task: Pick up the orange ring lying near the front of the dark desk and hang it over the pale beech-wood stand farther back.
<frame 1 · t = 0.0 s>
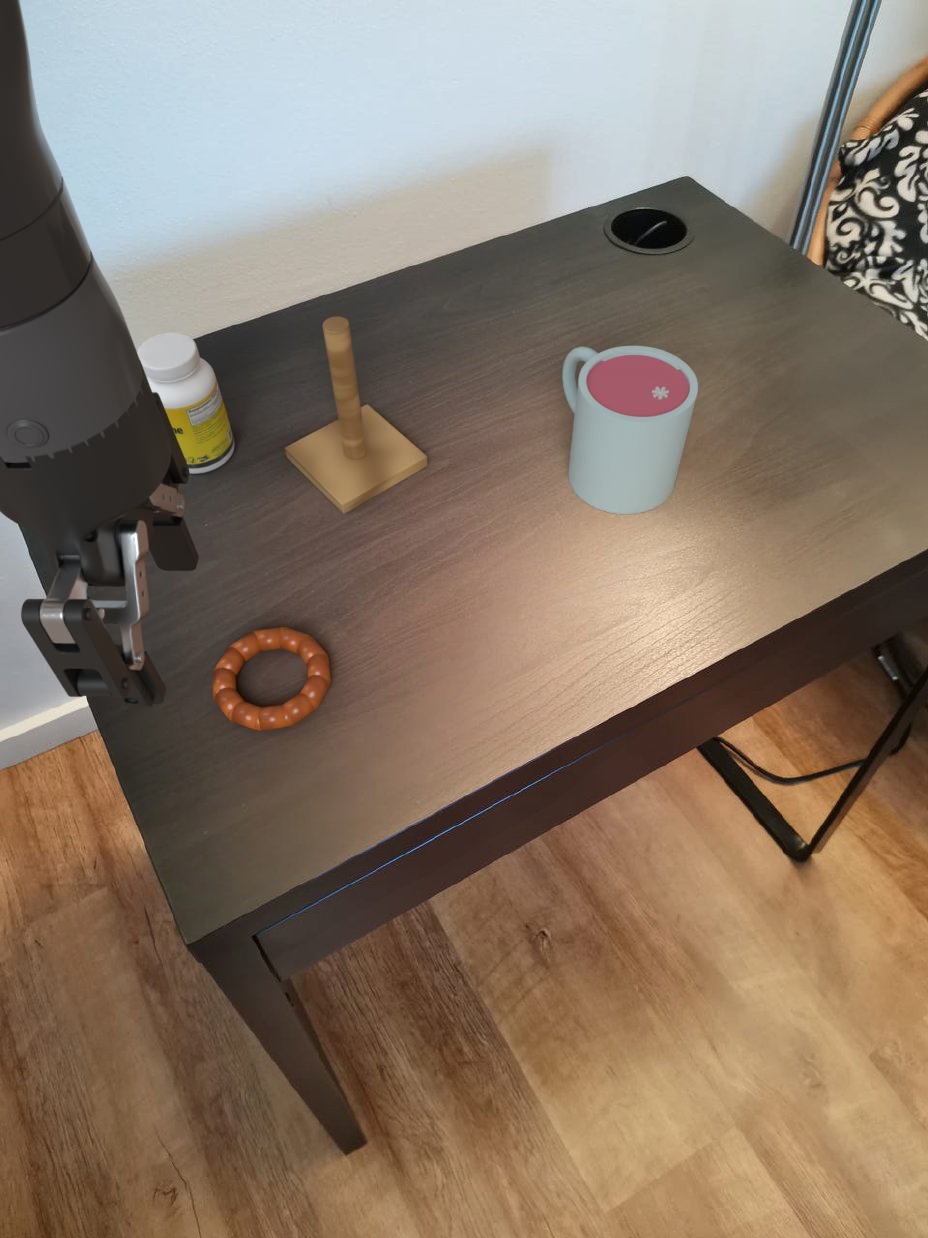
hand: (163, 628, 47), 17 cm above the table, tool pointing down, fingers open, 8 cm apart
ring: (271, 677, 64), point 1 cm above the table
stand: (356, 461, 78), on the table
pill bottle: (202, 453, 79), on the table
mug: (605, 461, 78), on the table
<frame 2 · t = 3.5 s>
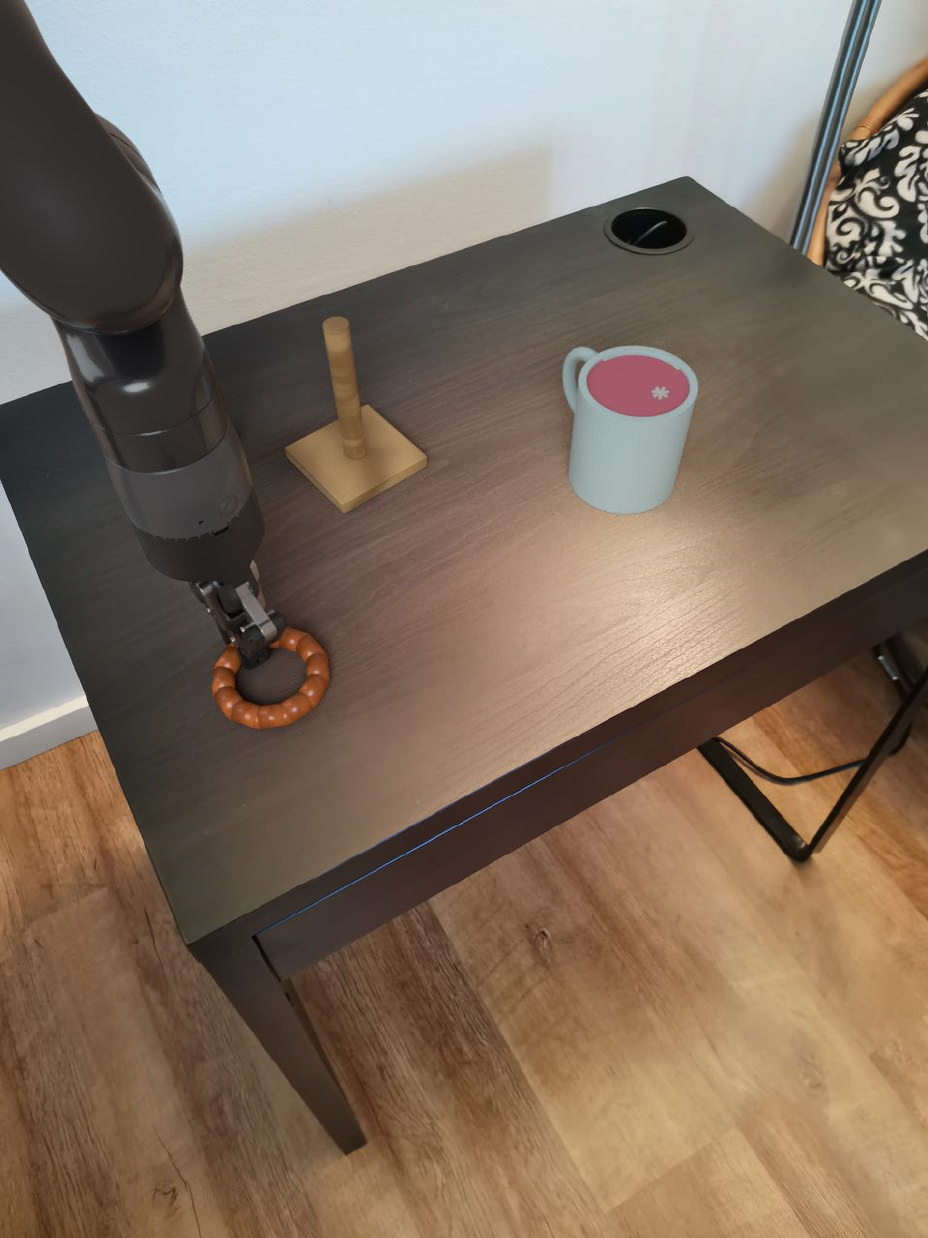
hand: (248, 650, 66), 0 cm above the table, tool pointing down, fingers closed on ring, 2 cm apart
ring: (270, 675, 64), point 1 cm above the table, touching gripper
everything else where it was.
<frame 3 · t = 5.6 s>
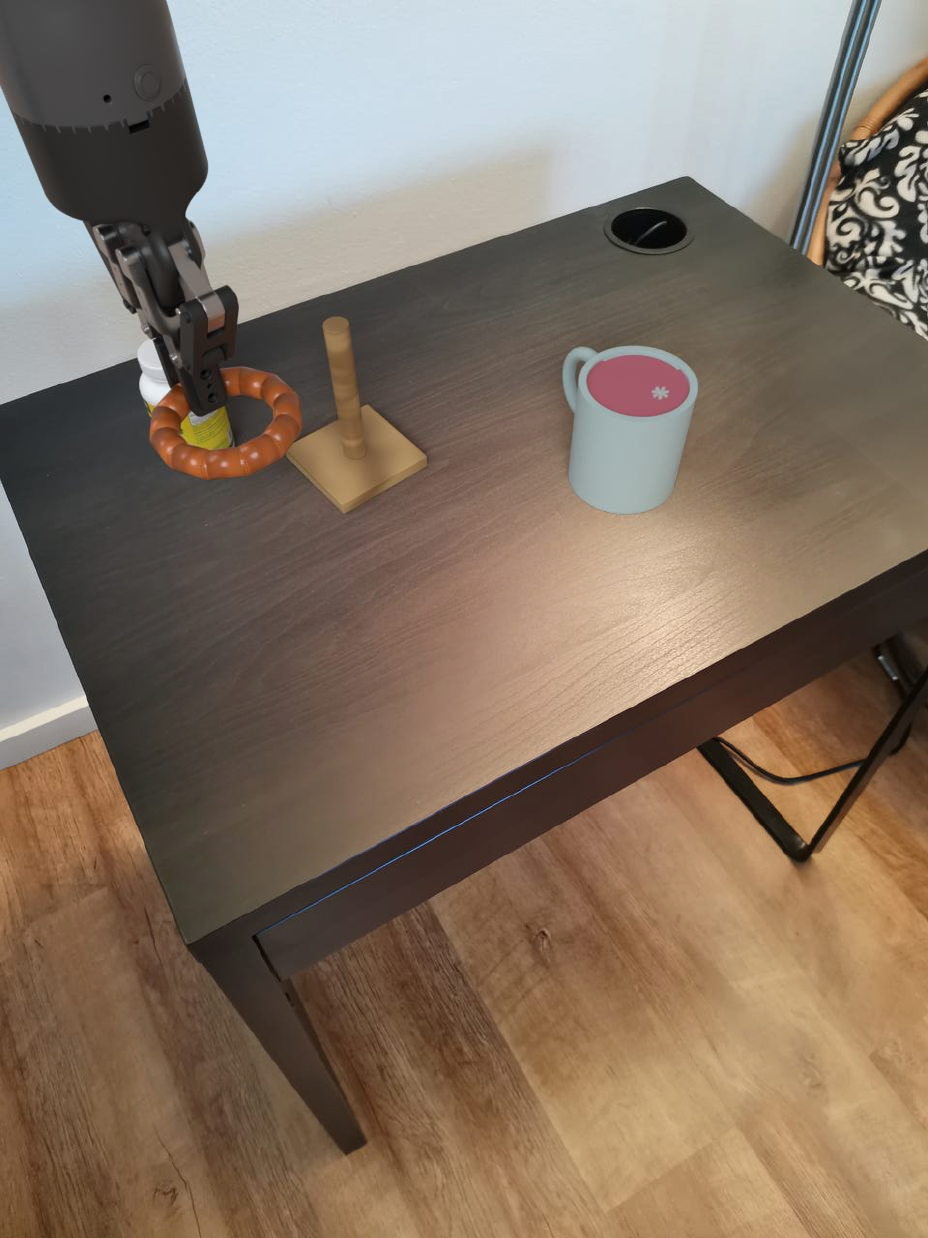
hand: (200, 397, 52), 21 cm above the table, tool pointing down, fingers closed on ring
ring: (226, 420, 50), point 21 cm above the table, touching gripper
everything else where it was.
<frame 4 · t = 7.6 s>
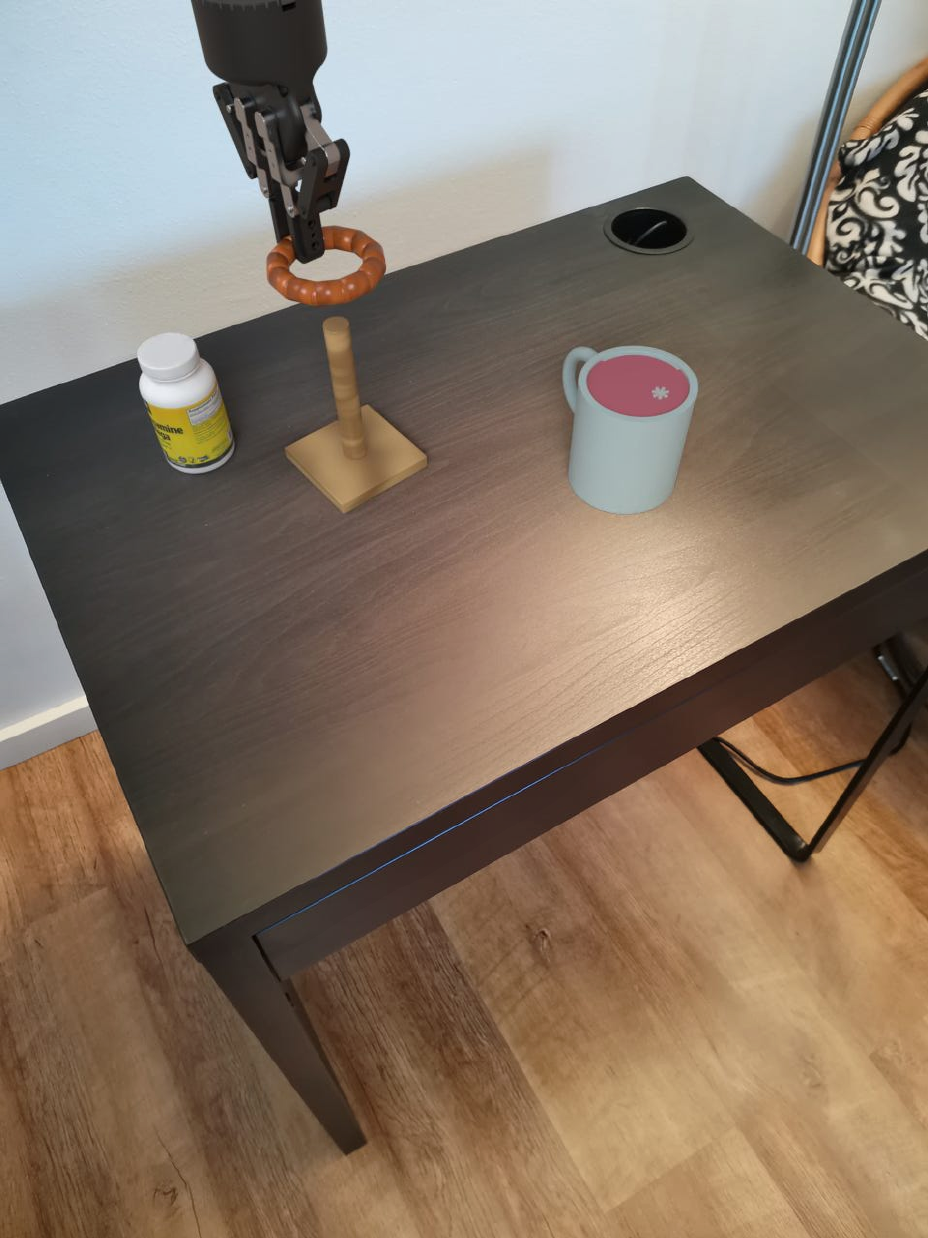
hand: (301, 250, 65), 19 cm above the table, tool pointing down, fingers closed on ring
ring: (326, 264, 63), point 19 cm above the table, touching gripper
everything else where it was.
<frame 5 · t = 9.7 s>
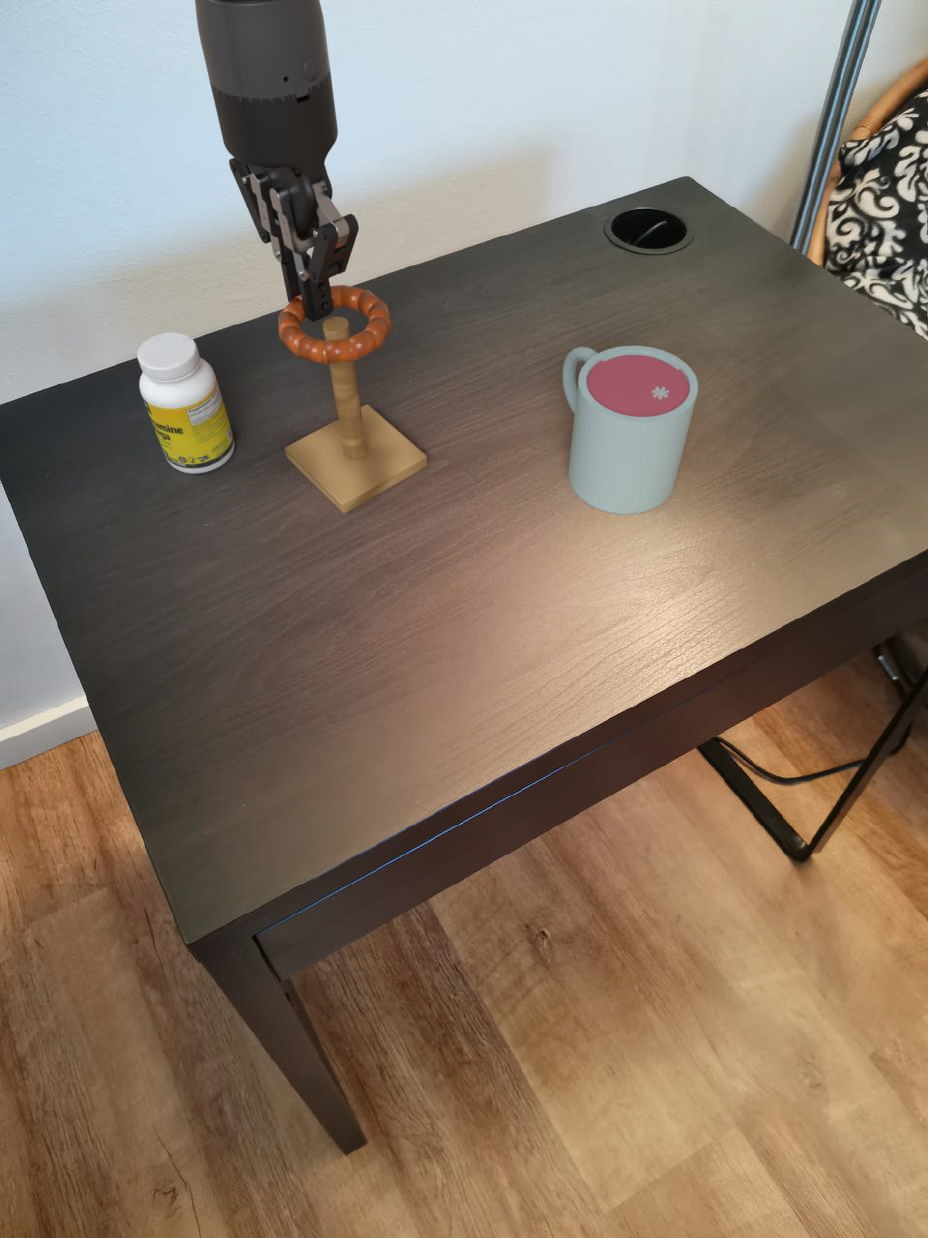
hand: (311, 308, 69), 14 cm above the table, tool pointing down, fingers closed on ring
ring: (334, 323, 67), point 14 cm above the table, touching gripper
everything else where it was.
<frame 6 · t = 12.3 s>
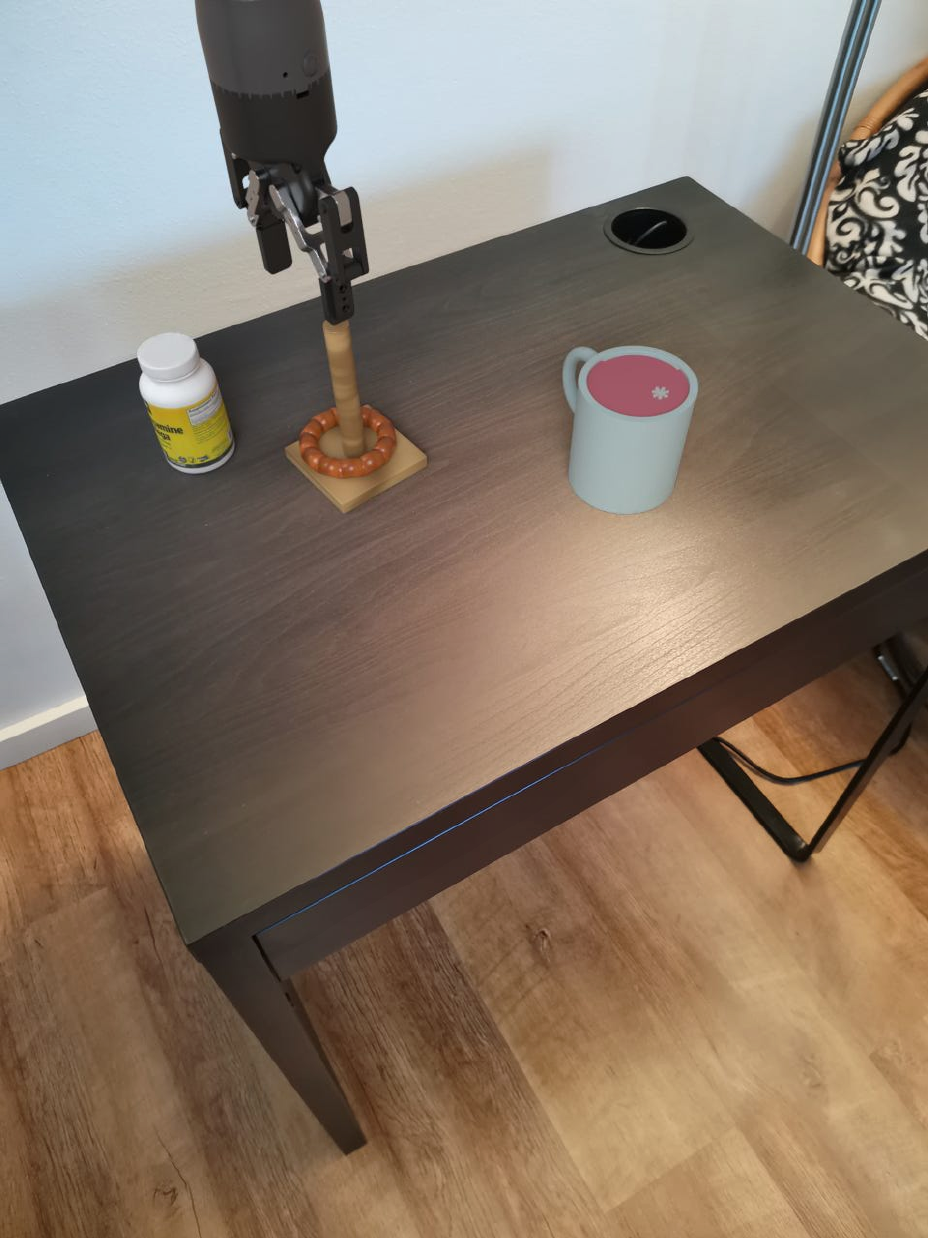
hand: (309, 293, 68), 15 cm above the table, tool pointing down, fingers open, 8 cm apart
ring: (347, 440, 77), point 2 cm above the table, touching stand
everything else where it was.
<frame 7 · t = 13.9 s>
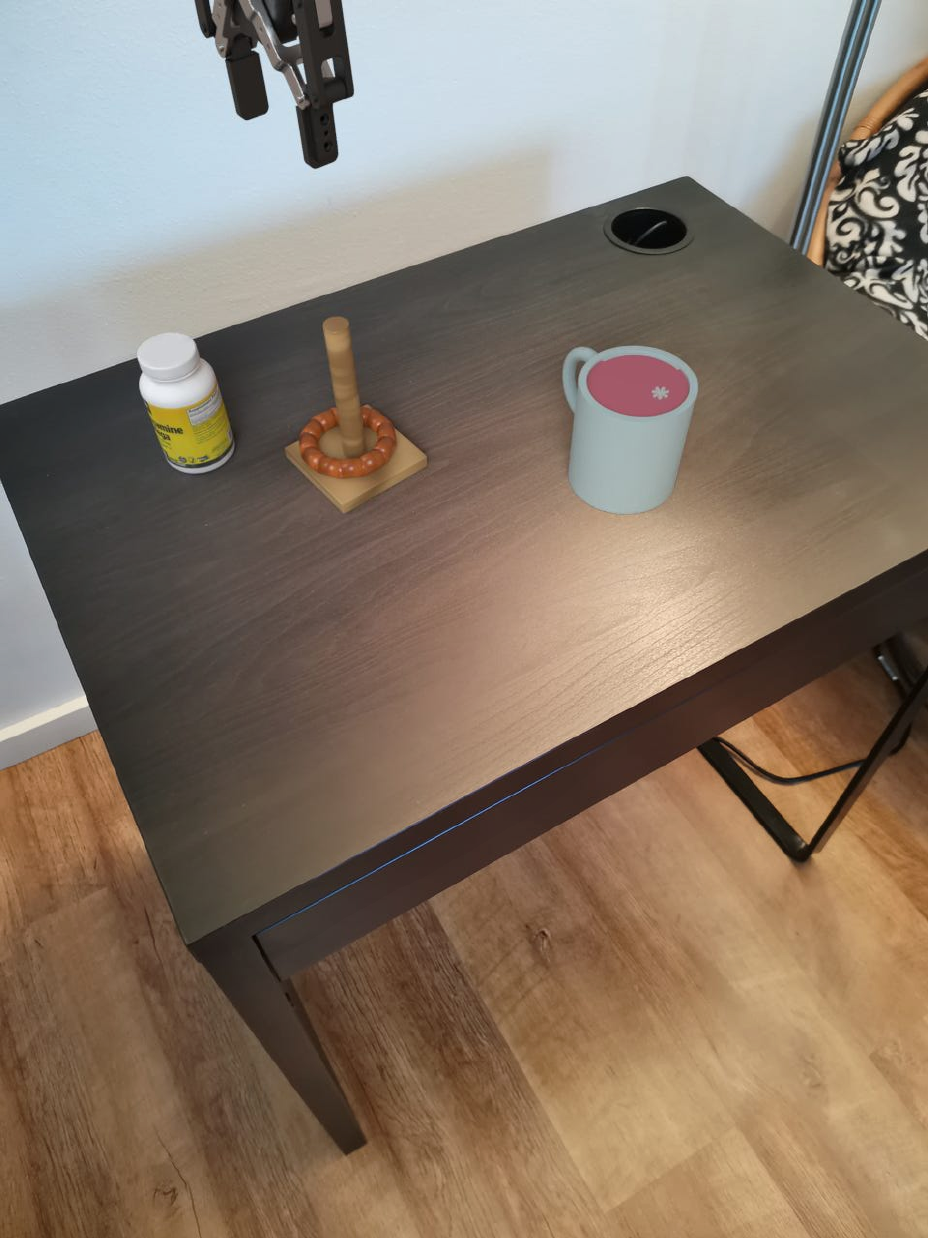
hand: (287, 138, 59), 26 cm above the table, tool pointing down, fingers open, 8 cm apart
nothing on the table moved.
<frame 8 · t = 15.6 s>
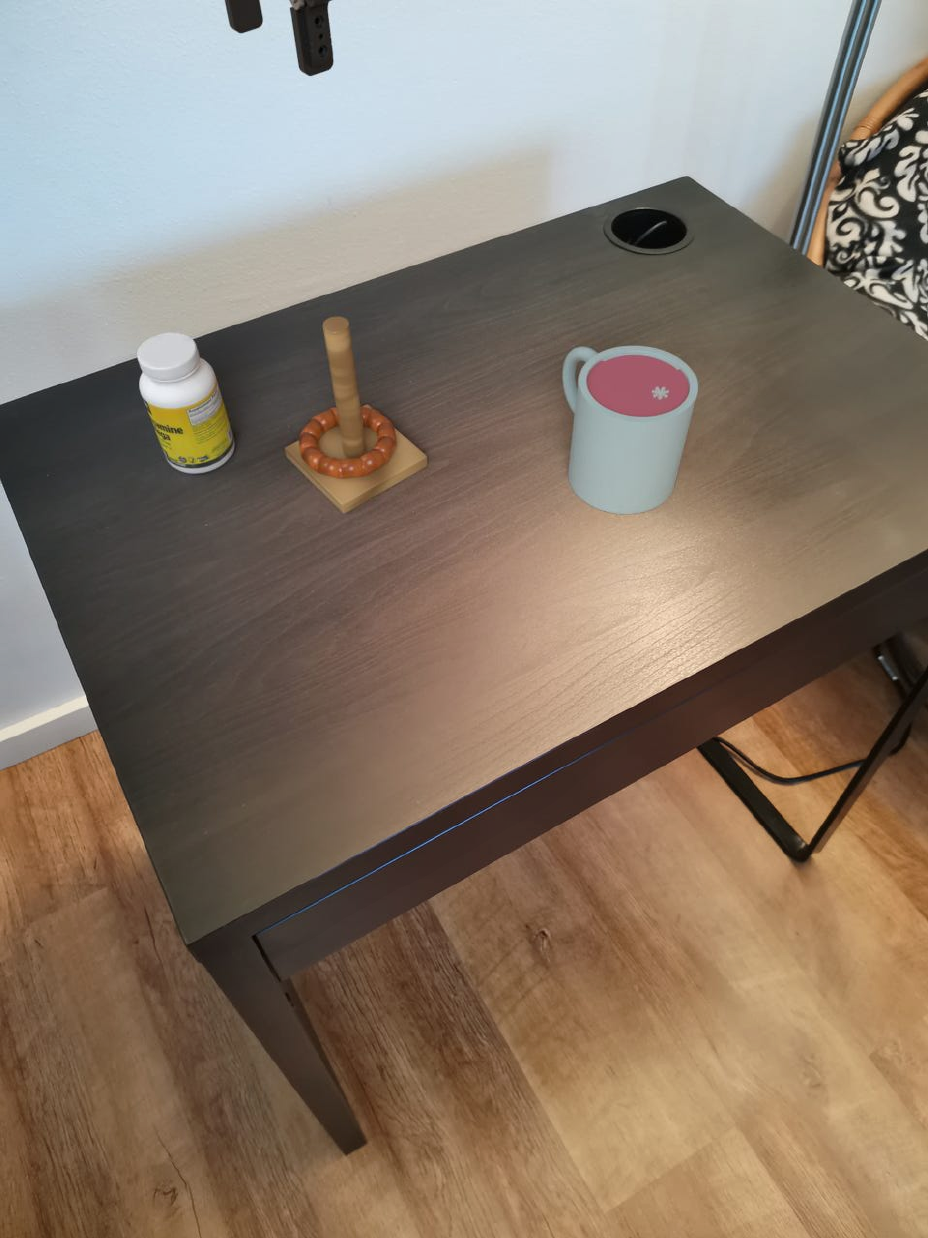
hand: (281, 49, 58), 30 cm above the table, tool pointing down, fingers open, 8 cm apart
nothing on the table moved.
at the end: ring 0.8 cm from the stand (horizontally); ring point 2.0 cm above the table; the gripper is holding nothing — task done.
